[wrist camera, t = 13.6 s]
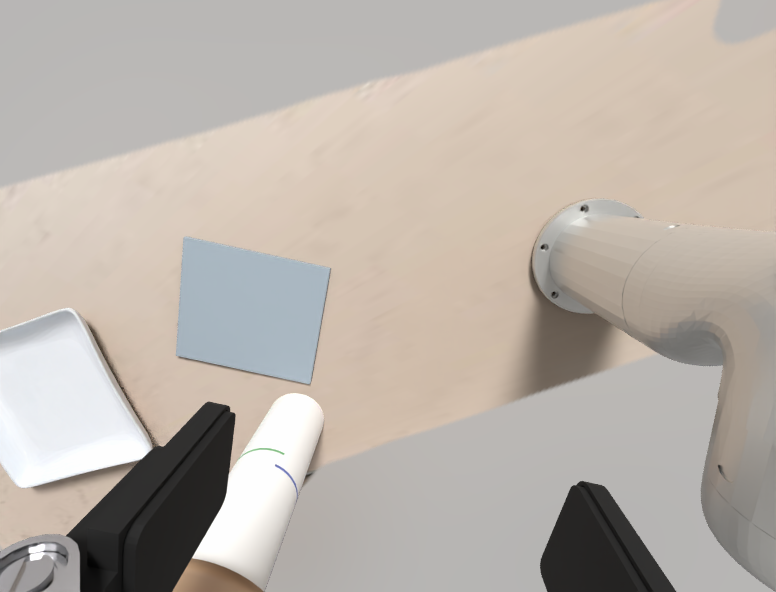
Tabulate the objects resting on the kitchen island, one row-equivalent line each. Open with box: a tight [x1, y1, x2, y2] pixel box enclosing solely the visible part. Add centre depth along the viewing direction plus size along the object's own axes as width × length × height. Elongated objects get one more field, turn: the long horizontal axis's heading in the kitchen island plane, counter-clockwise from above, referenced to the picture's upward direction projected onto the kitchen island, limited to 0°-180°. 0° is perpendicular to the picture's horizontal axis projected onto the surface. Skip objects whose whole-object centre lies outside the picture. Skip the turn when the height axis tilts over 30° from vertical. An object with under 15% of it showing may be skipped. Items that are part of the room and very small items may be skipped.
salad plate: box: [0, 308, 152, 488], centre depth 49 cm, size 21×21×3 cm
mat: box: [176, 237, 331, 384], centre depth 46 cm, size 17×15×1 cm
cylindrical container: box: [192, 393, 324, 592], centre depth 37 cm, size 7×7×25 cm
